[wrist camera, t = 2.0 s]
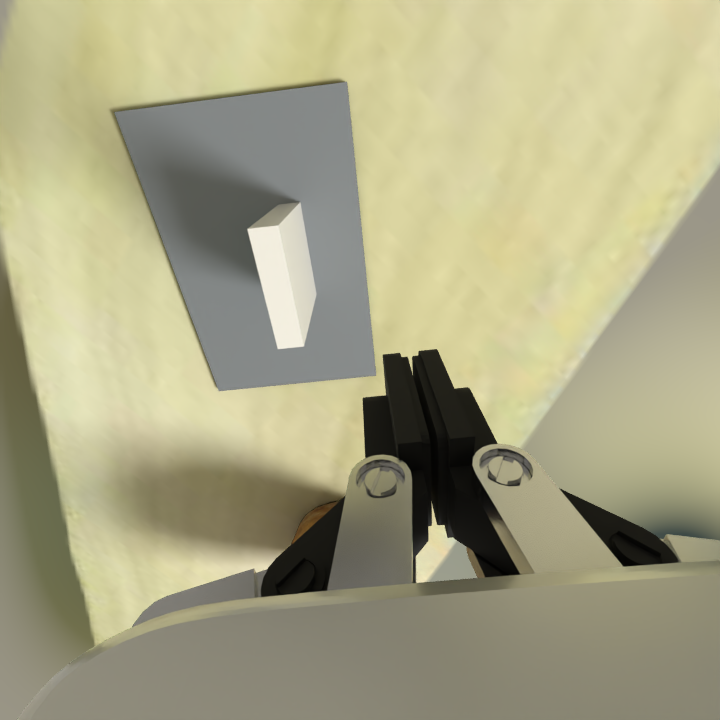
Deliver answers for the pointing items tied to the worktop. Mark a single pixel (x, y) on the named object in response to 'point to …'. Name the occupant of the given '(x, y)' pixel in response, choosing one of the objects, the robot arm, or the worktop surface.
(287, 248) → the tile
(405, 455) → the robot arm
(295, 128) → the mat
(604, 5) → the worktop surface
